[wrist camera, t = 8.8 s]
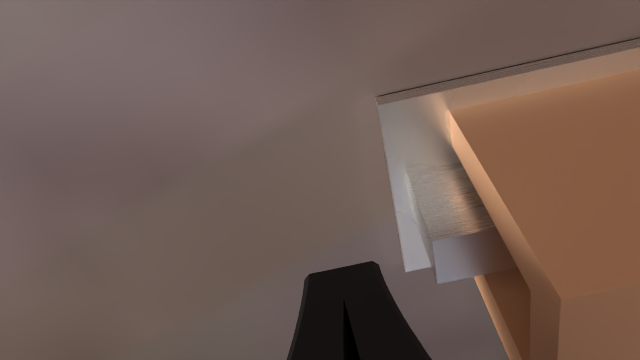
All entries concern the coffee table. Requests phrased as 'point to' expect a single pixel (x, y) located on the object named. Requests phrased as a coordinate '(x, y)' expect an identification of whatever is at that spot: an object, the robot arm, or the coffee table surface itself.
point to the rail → (446, 168)
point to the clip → (561, 216)
